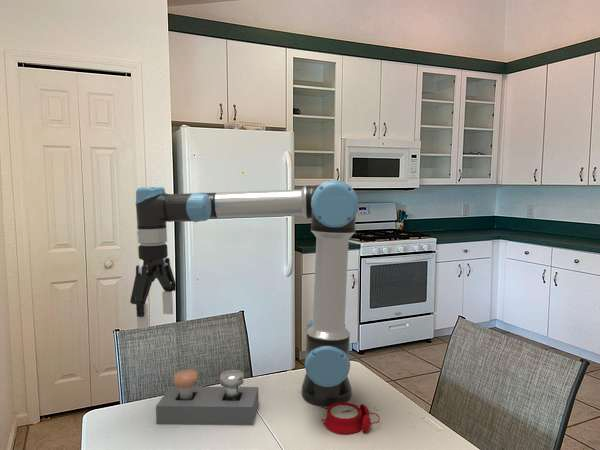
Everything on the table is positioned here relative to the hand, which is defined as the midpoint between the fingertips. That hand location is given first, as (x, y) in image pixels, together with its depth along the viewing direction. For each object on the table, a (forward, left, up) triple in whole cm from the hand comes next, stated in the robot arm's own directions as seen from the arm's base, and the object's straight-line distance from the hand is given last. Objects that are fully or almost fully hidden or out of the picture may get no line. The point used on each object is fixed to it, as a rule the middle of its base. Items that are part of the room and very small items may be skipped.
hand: (156, 320), depth 123 cm
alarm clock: (-53, +4, -27) cm, 60 cm away
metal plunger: (-20, -1, -23) cm, 31 cm away
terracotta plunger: (-7, -1, -23) cm, 24 cm away
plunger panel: (-14, -1, -27) cm, 30 cm away
